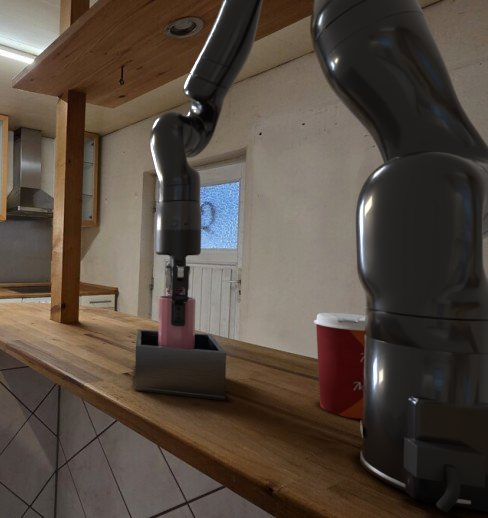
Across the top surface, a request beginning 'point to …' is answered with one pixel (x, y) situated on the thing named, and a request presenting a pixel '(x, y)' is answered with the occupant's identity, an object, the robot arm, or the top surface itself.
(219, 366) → the grey storage bin
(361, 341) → the paper cup
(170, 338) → the pink cup
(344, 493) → the top surface
